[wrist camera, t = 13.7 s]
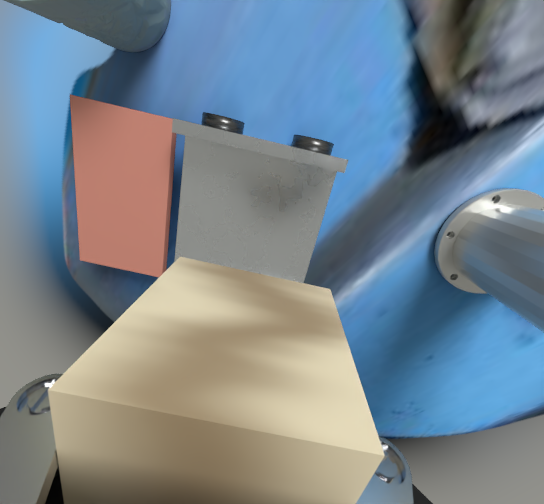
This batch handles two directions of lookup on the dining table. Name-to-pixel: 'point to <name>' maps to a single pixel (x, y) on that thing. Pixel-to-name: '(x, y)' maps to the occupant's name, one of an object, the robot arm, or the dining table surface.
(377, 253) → the dining table surface
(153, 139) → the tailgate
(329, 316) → the box
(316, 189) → the cart
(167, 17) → the grey round bin
